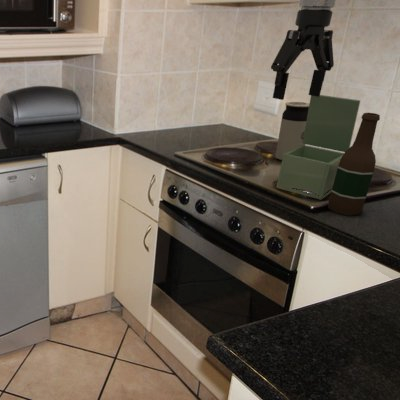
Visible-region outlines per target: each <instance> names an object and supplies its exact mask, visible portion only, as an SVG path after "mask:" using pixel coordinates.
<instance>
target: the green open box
mask: <svg viewBox="0 0 400 400" xmlns="http://www.w3.org/2000/svg"><path fill="white" fill-rule="evenodd" d="M344 153H345V152H342V151H337V150H332V149H327V148H322V147H317V146H312V145H307V144H305V145H301V146H299V147H297V148H295V149H293V150H291V151H289V152H287V153H284V155H283V159H282V160H281V164H280V168H279V173H278V177H277V182H276V186H275V188H276V189H279V190H283V191H287V192H291V193H294V194H297V195H301V196H304V197H309V198H312V199H316V200H319V201H322V200H323V199H325V198H326V197H328V196H330V194H331V191H332V190H331V191H329V192H328V193H326V192H327V191H328V190H329V189H331V188H332V187H333V183H334V180H335V176H336V173H337V169H338V166H339V163H340V160H341V158H342V156H343V154H344ZM292 188H297V189H303V190H308V191H312V192H314V193H316V194H317V195H315V194H311V193H307V192H303V191H300V190H296V189H292ZM325 193H326V194H325ZM324 194H325V195H324ZM318 195H319V196H318Z"/></svg>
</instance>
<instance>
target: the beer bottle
mask: <svg viewBox="0 0 400 400" xmlns="http://www.w3.org/2000/svg"><path fill="white" fill-rule="evenodd" d="M380 117H381V115H380V114H378V113H376V112H375V113H374V112H364V113H363V114H362V115H361V117H360V118H361V119H362V120H361V122H360V125H359V128H358V131H357V133H356V136H355V139H354V141H353V143H352V145H350V148H349V149H348V150H346V152H343V153H344V154H343V156H342V158H341V160H340V163H339V166H338V169H337V173H336V176H335V180H334V183H333V187H332V191H331V193H330V194H329V199H328V203H327V209H328V210H330V211H332V212H334V213H335V214H339V215H345V216H350V217H351V216H360V215H361V213H362V211H363V208H364V206H365V202H366V199H367V195H368V192H369V189H370V187H371V186H370V185H371V183H372V178H373V176H374V173H375V167H376V164H377V163H376V162H377V161H376V154H375V152H374V149H373V144H374V139H375V135H376V130H377V126H378V121H380V119H381V118H380Z"/></svg>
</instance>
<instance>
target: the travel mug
mask: <svg viewBox="0 0 400 400" xmlns="http://www.w3.org/2000/svg"><path fill="white" fill-rule="evenodd" d="M284 104H285V109H284V111H283V112H282V116H281V121H280V126H279V133H278V139H277V145H276V151H275V158H276V159H277V160H279V161H282V159H283V155H284V153H287V152H289V151H291V150H293V149H295V148H297V147H299V146H301V145H306V144H303V138H304V132H305V127H306V121H307V115H308V110H309V104H310V102H304V101H287V102H286V101H285V103H284Z"/></svg>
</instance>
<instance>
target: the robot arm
mask: <svg viewBox="0 0 400 400" xmlns="http://www.w3.org/2000/svg"><path fill="white" fill-rule="evenodd" d="M335 5H336V0H299V5H298V7H299V8H301V9H299V10H298V11H297V14H296V19H295V24H294V25H295V26H297V29H288V30H287V32H286V35H285V39H284V40H283V43H282V45H281V46H280V48H279V51H278V52H277V54H276V56H275V58H274V60H273V62H272V64H271V66H270V69H271V70H272V71H273V72H276V74H275V78H274V89H273V93H272V99H275V100H281V101H283V100H284V99H285V95H286V90H287V86H288V80H289V75H290V73H289V72H288V71H289V69H290V68H291V67H292V66H293V64H294V63H295V61H296V60H297V59H298V57H299V56H300V55H301V53H303V52H305V51H306V50H309V51H310V52H311V55H312V58H313V61H314V64H315V67H316V69H313V73H312V77H311V82H310V86H309V90H308V96H311V95H312V96H317V97H318V96H320V95H321V93H322V89H323V84H324V81H325V77H326V72H331V70H332V69H333V68H334V65H335V63H334V62H335V61H334V49H333V48H334V47H333V36H334V35H333V34H334V30H333V29H325V28H327V27H329V26H330V25H331V21H332V16H333V10H332V8H334V7H335Z"/></svg>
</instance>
